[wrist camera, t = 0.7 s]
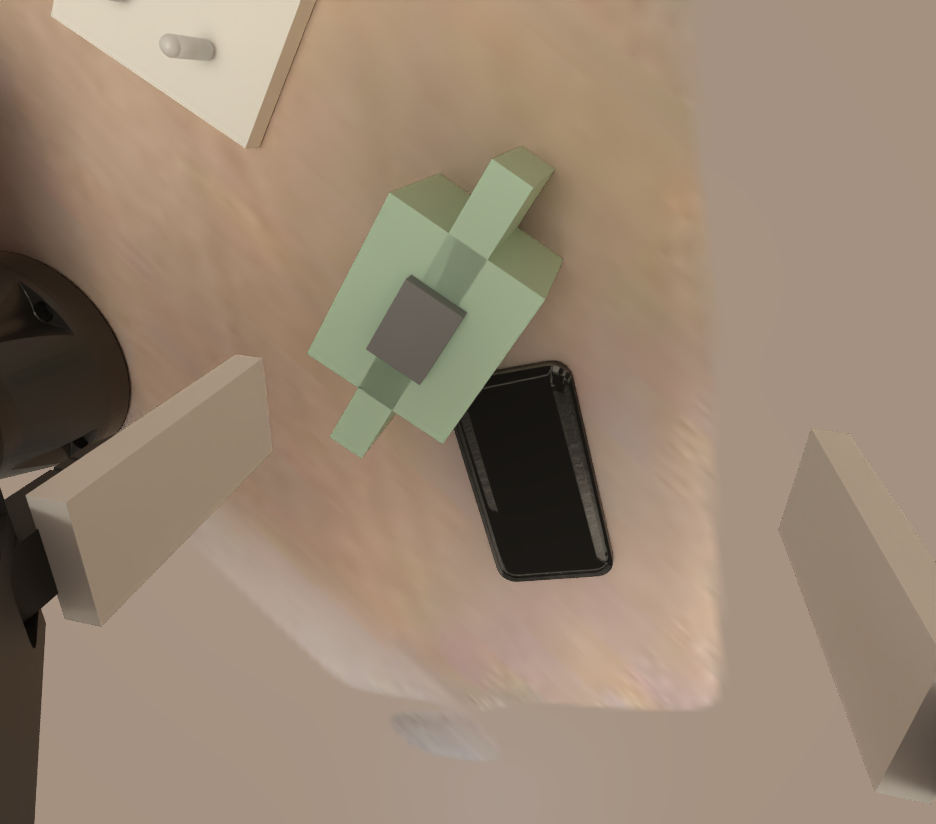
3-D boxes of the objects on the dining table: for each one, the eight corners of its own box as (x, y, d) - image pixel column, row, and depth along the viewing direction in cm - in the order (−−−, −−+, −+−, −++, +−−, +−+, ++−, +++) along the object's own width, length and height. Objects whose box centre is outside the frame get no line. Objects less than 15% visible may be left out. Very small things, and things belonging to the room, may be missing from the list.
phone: (567, 362, 36) (615, 575, 42) (569, 355, 37) (616, 564, 43) (438, 384, 39) (499, 583, 44) (443, 377, 40) (502, 572, 45)
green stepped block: (448, 422, 41) (405, 498, 33) (342, 351, 40) (272, 412, 32) (603, 202, 33) (593, 233, 25) (473, 111, 32) (423, 115, 25)
